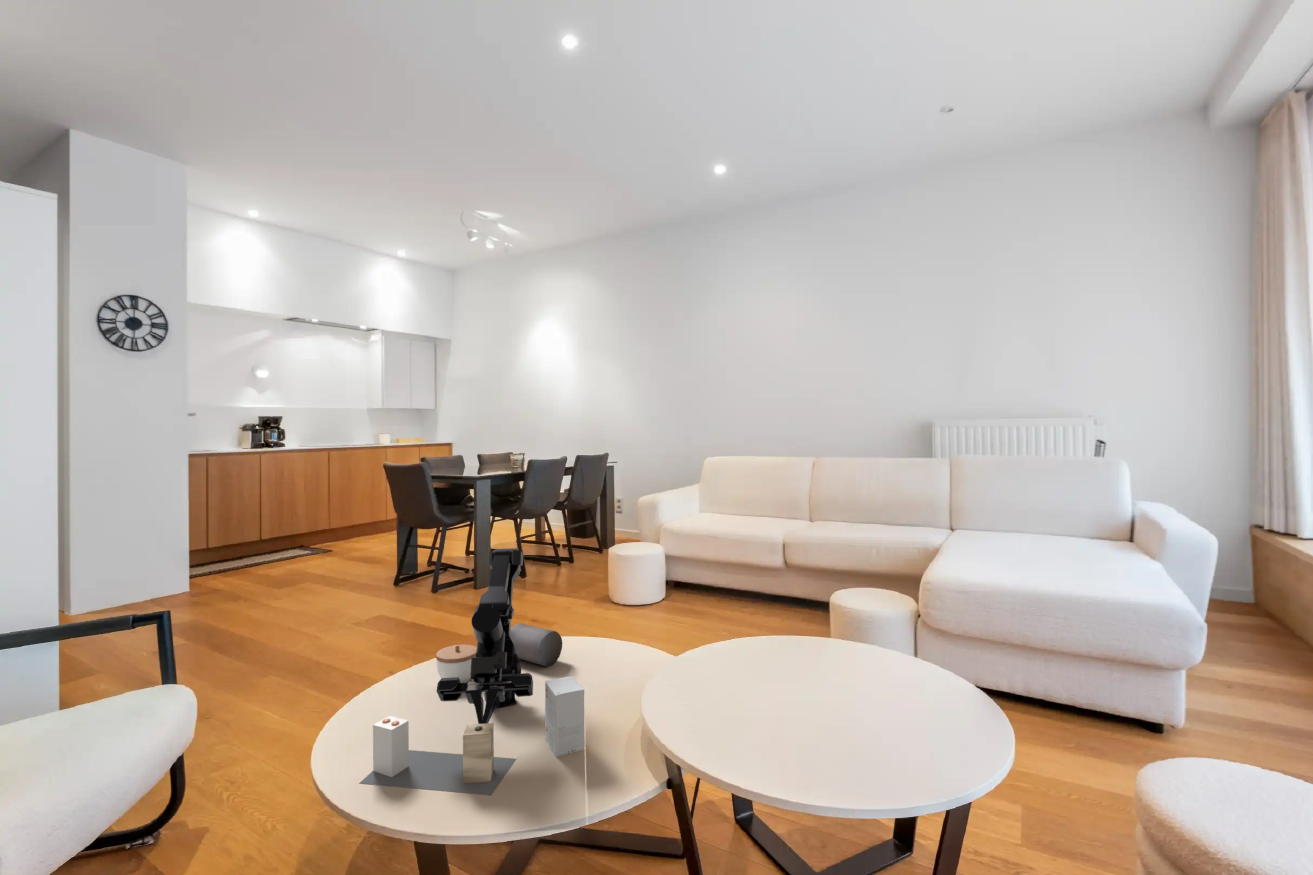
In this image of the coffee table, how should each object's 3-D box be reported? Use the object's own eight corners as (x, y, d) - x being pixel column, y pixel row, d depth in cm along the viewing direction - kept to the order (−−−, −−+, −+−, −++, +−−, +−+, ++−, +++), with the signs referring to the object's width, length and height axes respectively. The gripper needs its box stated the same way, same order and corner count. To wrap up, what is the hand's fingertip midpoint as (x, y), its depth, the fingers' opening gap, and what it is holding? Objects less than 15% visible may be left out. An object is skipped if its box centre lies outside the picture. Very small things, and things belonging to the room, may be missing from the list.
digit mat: (516, 761, 118) (516, 758, 118) (491, 798, 106) (491, 794, 106) (396, 751, 121) (396, 748, 121) (359, 786, 109) (359, 783, 109)
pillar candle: (564, 657, 171) (527, 647, 179) (561, 625, 170) (524, 617, 178) (540, 672, 163) (503, 661, 171) (537, 639, 162) (499, 629, 170)
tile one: (467, 771, 113) (466, 723, 113) (493, 768, 114) (493, 721, 114) (463, 783, 109) (462, 734, 109) (490, 780, 110) (490, 732, 110)
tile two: (390, 760, 117) (389, 714, 117) (408, 766, 115) (408, 719, 115) (373, 770, 113) (372, 723, 113) (391, 777, 111) (391, 728, 111)
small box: (585, 752, 121) (584, 689, 121) (555, 759, 118) (554, 695, 118) (573, 734, 128) (572, 674, 128) (544, 740, 126) (544, 680, 125)
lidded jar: (458, 669, 164) (458, 635, 164) (486, 676, 159) (486, 642, 159) (427, 683, 155) (426, 648, 155) (456, 692, 150) (456, 655, 150)
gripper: (438, 639, 119) (424, 719, 108) (531, 634, 122) (527, 712, 111) (447, 662, 127) (435, 739, 116) (534, 657, 130) (531, 732, 119)
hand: (481, 730), depth 115 cm, fingers closed
